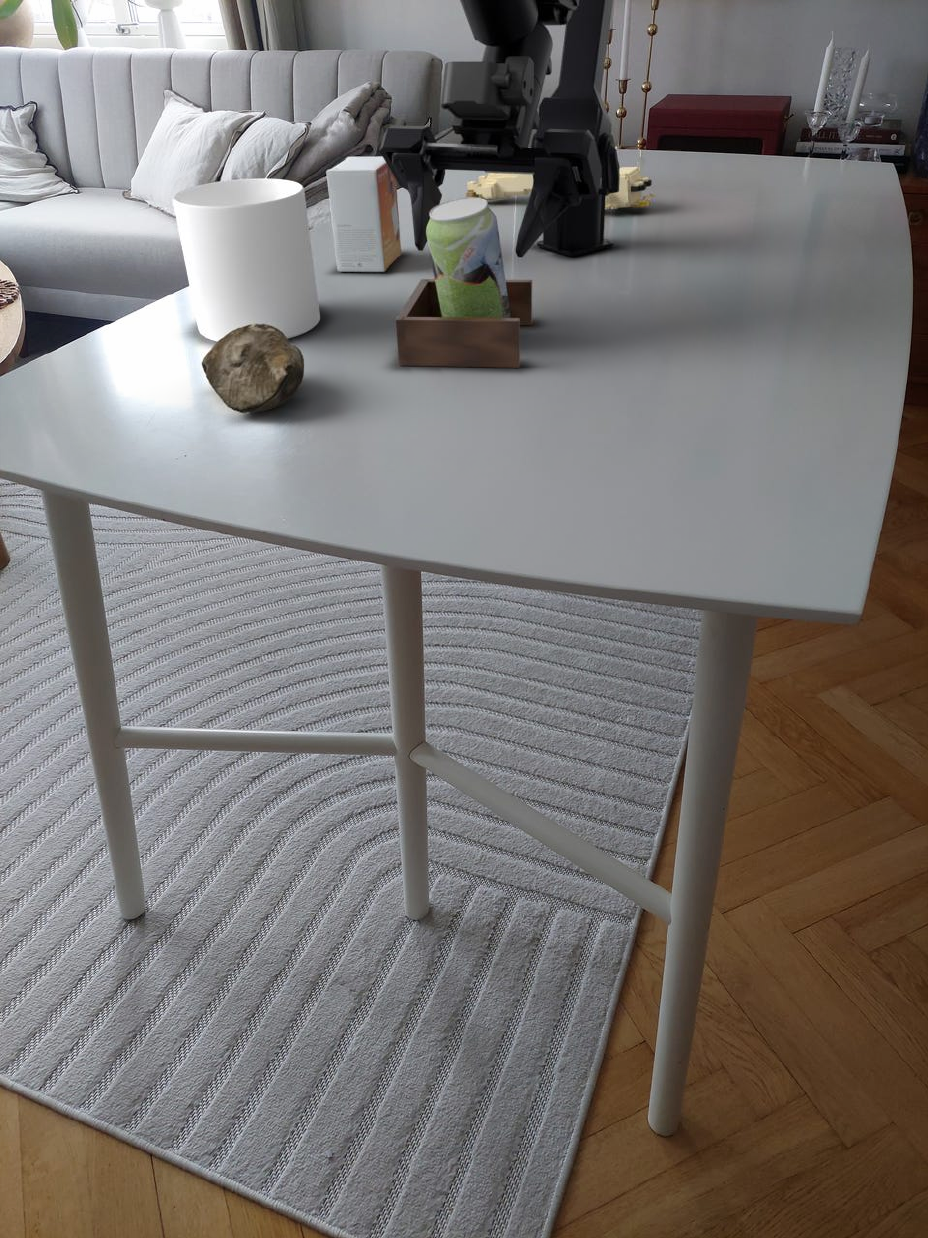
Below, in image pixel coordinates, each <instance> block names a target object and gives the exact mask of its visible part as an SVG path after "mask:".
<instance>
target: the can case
mask: <svg viewBox="0 0 928 1238" xmlns="http://www.w3.org/2000/svg"><path fill="white" fill-rule="evenodd" d="M505 281H506V288H507V295H508V302H509V309H510V316H511V318H457V317H442V314H441V309H440V303H439V298H438V293H437V288H436V282H435V278H429V279H428V278H421V279H420V281H419V282H418V284H417V285H416V287H415V289H414V290H413V292H412V293H411V295H410V296H409V298H408V300H407V301H406V303H405V304H404V306H403V307H402V309H401V310H400V312H399V314H398V315H397V317H396V318H395V330H396V331H395V332H396V343H397V355H398V365H399V366H405V367H449V368H450V367H451V368H453V367H455V368H504V369H505V368H506V369H507V368H508V369H519V368H520V366H521V326H532V324H533V279H505Z"/></svg>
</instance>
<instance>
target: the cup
mask: <svg viewBox="0 0 928 1238" xmlns="http://www.w3.org/2000/svg"><path fill="white" fill-rule="evenodd" d="M172 204H173V209H174V210H173V211H174V215H175V221H176V226H177V231H178V235H179V240H180V244H181V250H182V255H183V259H184V265H185V270H186V275H187V280H188V285H189V290H190V294H191V301H192V305H193V310H194V314H195V315H194V316H195V320H196V323H197V329H198V332H199V333H200V335H201V336H203V337H204V338H206V339H208V340H210V341H213V342H215V343H217V342H218V341H219V340H220V339H222V338H223V337H224V336H225V335H227V334H228V333H230V332H231V331H233V330H235V329H237V328H241V327H244V326H247V325H250V324H267V325H271V326H273V327H275V328H277V329H279V330H280V331H282V332H283V333H284V335H285V336H286V337H287V339H288V340H289V339H293V338H295V337H298V336H302V335H303V334H305V333H307V332H310V331H311V330H313V329H314V328H315V327H316V326H317V325H318V324H319V323H320V320H321V314H320V312H321V311H320V304H319V297H318V289H317V288H318V287H317V281H316V272H315V264H314V256H313V249H312V248H313V247H312V241H311V233H310V225H309V224H310V223H309V217H308V208H307V201H306V193H305V187H304V186H303V184H301V183H299V182H296V181H293V180H288V179H283V178H282V179H281V178H260V177H259V178H239V179H228V180H221V181H214V182H208V183H202V184H198V185H194V186H192V187H187V188H185V189H183V190H180V191H179V192H177V193H175V194H174V196H173V199H172Z"/></svg>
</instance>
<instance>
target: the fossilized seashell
mask: <svg viewBox="0 0 928 1238" xmlns="http://www.w3.org/2000/svg"><path fill="white" fill-rule="evenodd" d="M201 366H202V367H201V368H202V369H203V373H204V374H205V377H206V379H207V382H208V384H209V385H210V386H211V388H212V389H213V391H214V392H215V394H216V395H218V397H219V398H220V399H221V400H222V402H223V403H224V405H226V406H227V407H228V408H229V409H231V410H233V411H234V412H238V413H241V414H248V413H257V412H267V411H269V410H273V409H276V408H278V407H280V406H282V405H283V404H284V403H286V402H287V401H289V400H290V399H291V398H292V397H293V396H294V395H295V393H297V391H298V389H299V387H300V386H301V384H302V383H303V379H304V377H305V376H304V375H305V358H304V355H303V353H302V351H301V350H300V349H299V347H298V346H296V345H293V344H292V343H290V341H289V339H287V337H286V336H285V335H284V333H283V332H282V331H280V330H279V329H277V328H275V327H273V326H271V325H267V324H250V325H247V326H244V327H241V328H237V329H235V330H233V331H231V332H230V333H228V334H227V335H225V336H224V337H223V338H222V339H220V340H219V341H218V342H215V344H214V345H213V346H212V347H211V349H210V350H209V351H208V352H207V353H206V354H205V355H204V357H203V358H202V361H201Z"/></svg>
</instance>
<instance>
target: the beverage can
mask: <svg viewBox="0 0 928 1238" xmlns="http://www.w3.org/2000/svg"><path fill="white" fill-rule="evenodd" d="M426 235H427V240H428V241H427V245H428V250H429V255H430V260H431V266H432V271H433V278H434V279H435V282H436V288H437V293H438V298H439V303H440V309H441V314H442V317H457V318H511V316H510V309H509V302H508V295H507V288H506V281H505V280H506V275H505V267H504V260H503V254H502V252H503V251H502V246H501V239H500V232H499V225H498V219H497V216H496V214H495V213H494V211H492V209H491V208H490V207H489V203H488V201H487V199H485V198H480V197H478V198H475V197H468V198H467V197H461V198H455V199H451V200H447V201H444V202H442V203H441V202H440V204H439V205H437V206H436V207H434V208H433V209H432V210H431V211H430V220H429V222H428V225H427V228H426Z"/></svg>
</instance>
